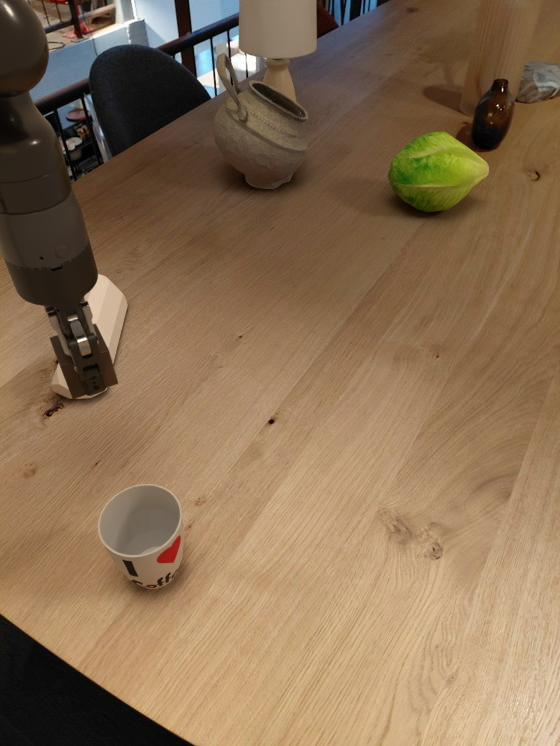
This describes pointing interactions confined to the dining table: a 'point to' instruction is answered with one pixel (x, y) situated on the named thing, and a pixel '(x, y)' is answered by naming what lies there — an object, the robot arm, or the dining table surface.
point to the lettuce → (435, 172)
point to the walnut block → (68, 365)
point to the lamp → (278, 36)
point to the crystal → (100, 324)
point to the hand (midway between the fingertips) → (88, 374)
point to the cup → (144, 534)
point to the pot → (259, 130)
